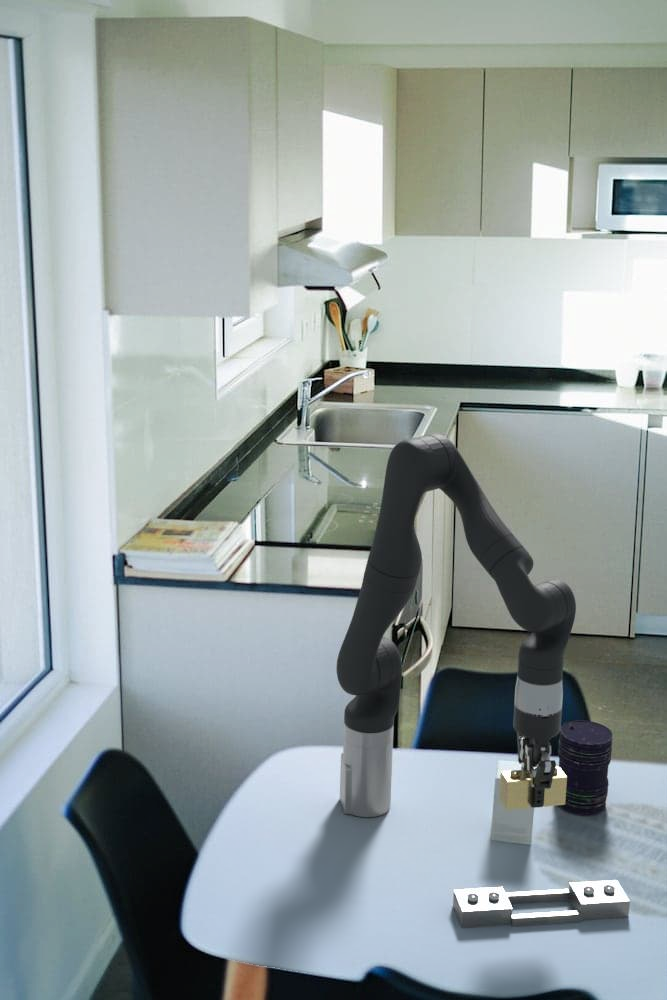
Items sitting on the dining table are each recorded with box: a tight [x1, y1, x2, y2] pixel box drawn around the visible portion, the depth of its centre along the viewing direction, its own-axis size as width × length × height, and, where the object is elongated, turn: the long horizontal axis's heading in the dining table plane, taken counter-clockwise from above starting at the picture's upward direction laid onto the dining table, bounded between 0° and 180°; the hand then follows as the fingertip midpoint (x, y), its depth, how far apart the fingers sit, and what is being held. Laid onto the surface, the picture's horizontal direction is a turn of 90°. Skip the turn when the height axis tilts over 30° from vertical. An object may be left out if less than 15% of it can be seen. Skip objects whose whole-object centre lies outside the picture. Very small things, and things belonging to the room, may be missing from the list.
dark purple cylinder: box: [556, 720, 614, 817], centre depth 236 cm, size 10×10×15 cm
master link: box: [500, 766, 567, 810], centre depth 203 cm, size 10×4×6 cm, turn 101°
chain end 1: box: [452, 886, 548, 929], centre depth 203 cm, size 14×7×4 cm, turn 98°
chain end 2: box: [534, 879, 631, 925], centre depth 205 cm, size 14×7×4 cm, turn 98°
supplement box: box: [490, 759, 535, 846], centre depth 226 cm, size 7×7×13 cm
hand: (532, 799), depth 203 cm, fingers closed on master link, 3 cm apart
